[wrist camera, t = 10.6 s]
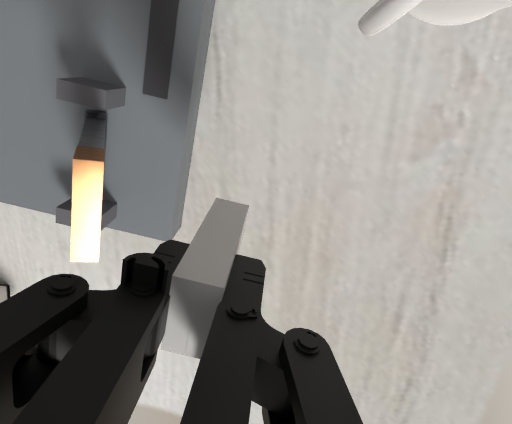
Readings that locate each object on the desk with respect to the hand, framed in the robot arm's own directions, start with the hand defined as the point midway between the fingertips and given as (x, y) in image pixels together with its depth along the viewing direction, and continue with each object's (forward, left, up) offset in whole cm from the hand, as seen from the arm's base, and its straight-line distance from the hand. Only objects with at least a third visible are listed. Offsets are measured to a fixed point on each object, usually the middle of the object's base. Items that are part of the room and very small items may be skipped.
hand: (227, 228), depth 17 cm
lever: (0, -9, -5) cm, 10 cm away
